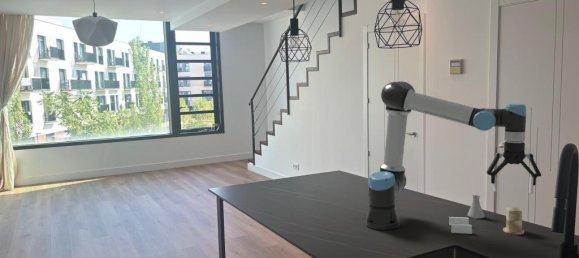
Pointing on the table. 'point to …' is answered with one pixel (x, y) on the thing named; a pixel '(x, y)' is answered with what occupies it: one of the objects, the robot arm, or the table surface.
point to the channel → (460, 225)
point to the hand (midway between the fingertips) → (512, 192)
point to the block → (513, 219)
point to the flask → (476, 208)
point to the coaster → (513, 232)
